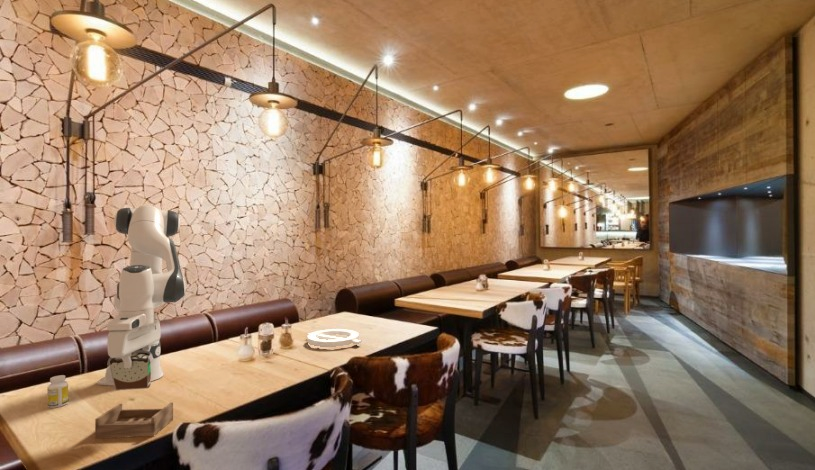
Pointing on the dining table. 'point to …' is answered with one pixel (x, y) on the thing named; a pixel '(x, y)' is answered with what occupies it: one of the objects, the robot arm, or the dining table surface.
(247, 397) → the dining table surface
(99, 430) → the wooden tray
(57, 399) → the supplement bottle
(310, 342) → the white circle with bar
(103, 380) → the robot arm
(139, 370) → the food container
